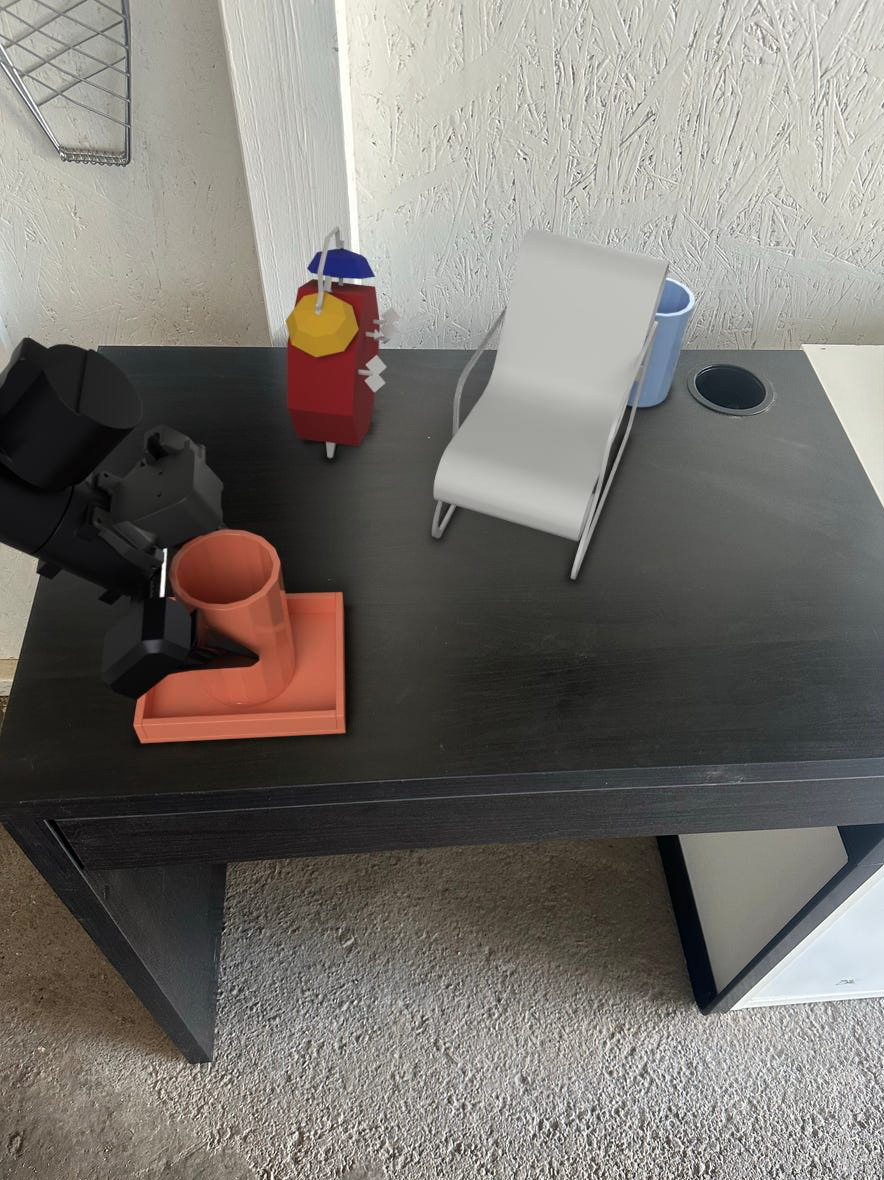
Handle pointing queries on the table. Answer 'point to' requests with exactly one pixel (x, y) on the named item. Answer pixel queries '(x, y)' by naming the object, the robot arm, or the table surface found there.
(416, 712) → the table surface
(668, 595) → the table surface
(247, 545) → the coral cup
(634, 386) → the blue cup
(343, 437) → the alarm clock
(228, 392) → the table surface
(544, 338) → the chair
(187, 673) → the coral tray
